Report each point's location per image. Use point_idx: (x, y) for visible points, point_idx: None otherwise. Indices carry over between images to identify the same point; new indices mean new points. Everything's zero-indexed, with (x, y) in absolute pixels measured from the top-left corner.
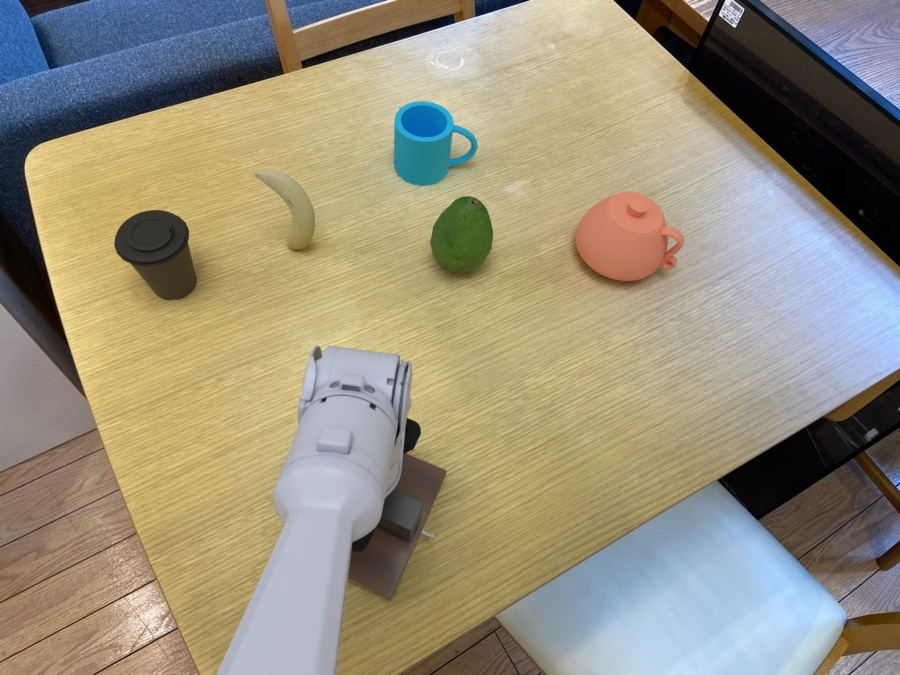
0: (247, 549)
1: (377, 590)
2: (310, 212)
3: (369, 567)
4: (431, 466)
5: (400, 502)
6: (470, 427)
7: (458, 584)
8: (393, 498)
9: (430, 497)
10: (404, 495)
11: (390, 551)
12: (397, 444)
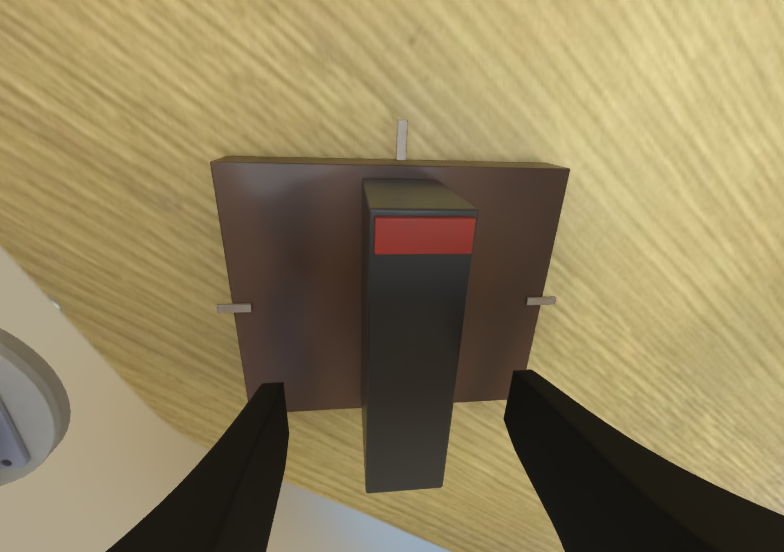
0: (175, 58)
1: (249, 389)
2: None
3: (280, 359)
4: None
5: (422, 451)
6: (607, 374)
7: (339, 455)
8: (425, 434)
9: (459, 396)
10: (442, 451)
11: (329, 379)
12: None
